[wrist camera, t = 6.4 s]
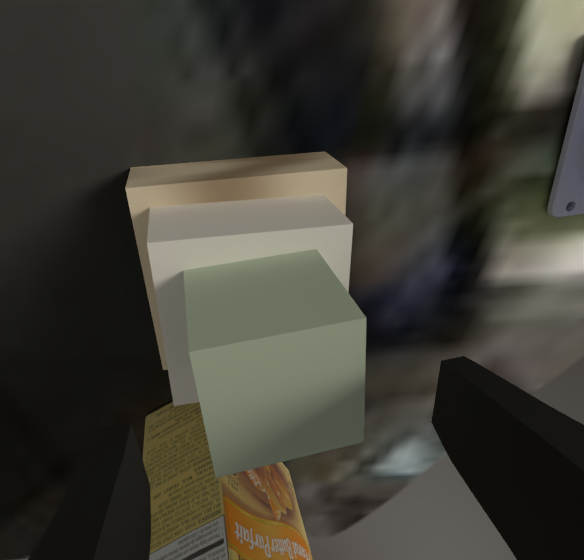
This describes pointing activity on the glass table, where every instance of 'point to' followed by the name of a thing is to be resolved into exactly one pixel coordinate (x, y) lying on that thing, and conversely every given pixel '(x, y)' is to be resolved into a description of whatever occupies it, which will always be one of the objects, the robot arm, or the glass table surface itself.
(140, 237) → the slab bottom
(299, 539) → the candy box
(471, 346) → the glass table surface
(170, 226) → the slab top
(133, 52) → the glass table surface
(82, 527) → the robot arm
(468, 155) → the glass table surface
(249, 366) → the block
